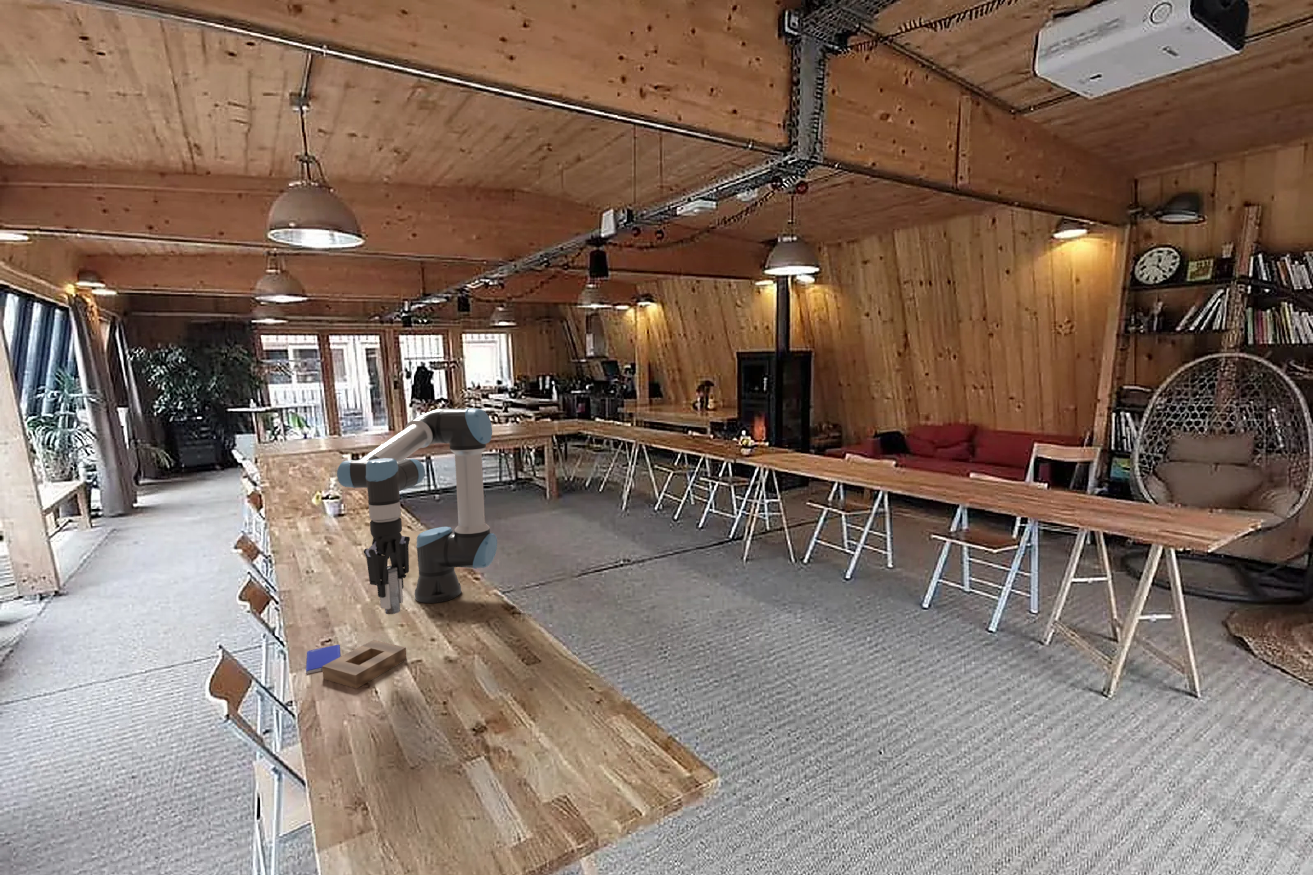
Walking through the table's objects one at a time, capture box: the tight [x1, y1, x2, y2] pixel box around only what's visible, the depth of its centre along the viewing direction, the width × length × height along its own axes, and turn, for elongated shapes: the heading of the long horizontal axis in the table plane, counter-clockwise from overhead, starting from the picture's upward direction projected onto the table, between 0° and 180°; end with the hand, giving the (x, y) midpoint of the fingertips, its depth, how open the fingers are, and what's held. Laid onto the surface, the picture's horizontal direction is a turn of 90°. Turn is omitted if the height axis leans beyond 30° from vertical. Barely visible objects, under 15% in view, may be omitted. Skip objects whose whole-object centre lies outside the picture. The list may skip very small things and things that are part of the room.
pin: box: [384, 565, 401, 615], centre depth 161 cm, size 4×4×12 cm
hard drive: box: [305, 644, 341, 675], centre depth 167 cm, size 2×8×12 cm
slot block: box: [322, 639, 408, 689], centre depth 162 cm, size 16×12×4 cm
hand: (392, 604), depth 162 cm, fingers closed on pin, 4 cm apart
